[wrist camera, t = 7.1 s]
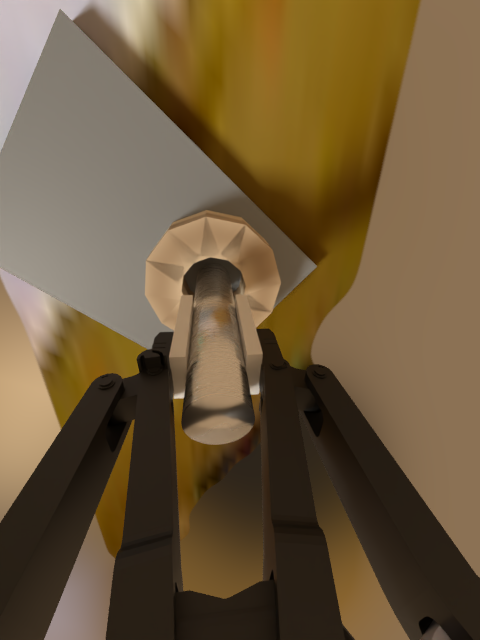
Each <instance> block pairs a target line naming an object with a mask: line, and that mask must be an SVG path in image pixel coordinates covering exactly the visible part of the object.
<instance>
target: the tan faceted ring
mask: <svg viewBox="0 0 480 640" xmlns="http://www.w3.org/2000/svg"><path fill="white" fill-rule="evenodd" d="M210 257H212V258H218V259H223V260H228V261H229V262H231V263H232V264H233V265H234V266H235V267H237V268H238V269H239V270H240V271H241V273H242V276H241V280H240V284H239V287H238V288H237V289H236V290H235V291H234V292H233V298H234V303H235V298H236V295H247V298H248V302H249V306H250V309H251V313H252V316H253V320H254V324H255V327H257V326H258V325H259V324H260V323H261V322H262V321H263V320H264V319H266V318H267V317H268V316H269V315H270V314H271V313H272V310H273V307H274V304H275V301H276V297H277V294H278V291H279V288H280V285H281V281H280V277H279V273H278V269H277V265H276V261H275V257H274V253H273V250H272V248H271V247H270V245H269V244H268V243H267V241H266V240H265V239H264V238H263V237H262V236H261V235H260V234H259V233H257V232H256V231H255V230H254V229H253V228H252V227H251V226H250V225H249V224H248V223H247V222H246V221H245V220H244V219H243V218H242V217H238V216H233V215H228V214H223V213H219V212H214V211H209V210H205V211H202V212H199V213H197V214H194V215H191V216H188V217H186V218H183V219H180V220H178V221H175V222H173V223H172V224H171V226H170V227H169V228H168V230H167V231H166V232H165V234H164V235H163V236H162V238H161V239H160V240H159V242H158V243H157V245H156V246H155V247H154V249H153V250H152V251H151V253H150V255H149V256H148V258H147V259H146V275H145V296H146V298H147V299H148V301H149V303H150V304H151V306H152V308H153V309H154V311H155V313H156V315H157V316H158V318H159V320H160V321H161V323H162V324H164V325H165V326H167V327H169V328H170V329H172V330H174V329H175V324H176V319H177V315H178V310H179V305H180V300H181V295H193V307H194V298H195V293H193V292H192V291H191V290H190V288H189V286H188V284H187V282H186V280H185V273H186V272H187V271H188V270H189V268H190V267H191V266H192V265H193V264H194V263H196V262H198V261H201V260H204V259H207V258H210Z"/></svg>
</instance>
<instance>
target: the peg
mask: <svg viewBox="0 0 480 640" xmlns="http://www.w3.org/2000/svg"><path fill="white" fill-rule="evenodd" d="M254 421H255V416H254V410H253V405H252V399H251V393H250V388H249V382H248V376H247V371H246V366H245V360H244V355H243V349H242V343H241V338H240V332H239V326H238V321H237V315H236V309H235V303H234V298H233V292H232V286H231V281H230V276H229V273H228V271H227V270H226V269H225V268H224V267H223V266H221V265H218V264H208V265H206V266H204V267H202V268H201V269H200V270H199V272H198V274H197V279H196V288H195V298H194V309H193V319H192V328H191V338H190V348H189V357H188V367H187V375H186V384H185V393H184V403H183V412H182V428H183V430H184V432H185V433H186V434H187V435H188V436H189V437H190V438H192V439H193V440H195V441H198V442H201V443H205V444H225V443H230V442H233V441H236V440H238V439H240V438H242V437H243V436H245V435H246V434H247V433H248V432H249V431H250V430H251V428H252V427H253V425H254Z"/></svg>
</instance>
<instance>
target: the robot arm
mask: <svg viewBox="0 0 480 640" xmlns="http://www.w3.org/2000/svg"><path fill="white" fill-rule="evenodd" d="M193 309H194V307H193V295H181V300H180V305H179V310H178V315H177V319H176V324H175V329H174V332H160V333H159V334H158V335H157V336H156V337H155V338H154V342H153V345H152V349H149V350H146V351H144V352H142V353H141V354H139V355H138V357H137V363H138V367H139V372H140V373H139V374H137V375H135V376H132V377H128V378H124V379H122V378H121V376H119V375H118V374H113V373H111V374H105V375H102V376H100V377H98V378H97V379H95V380H94V381H93V382H92V383H91V385H90V387H89V388H88V390H87V391H86V393H85V394H84V396H83V397H82V399H81V400H80V402H79V403H78V405H77V406H76V408H75V409H74V411H73V413H72V414H71V416H70V417H69V419H68V420H67V422H66V423H65V425H64V426H63V428H62V429H61V431H60V432H59V434H58V435H57V437H56V439H55V440H54V442H53V443H52V445H51V446H50V448H49V449H48V451H47V452H46V454H45V455H44V457H43V458H42V460H41V462H40V463H39V464H38V466H37V468H36V469H35V471H34V472H33V474H32V475H31V477H30V478H29V480H28V481H27V483H26V484H25V486H24V487H23V489H22V491H21V492H20V494H19V495H18V497H17V498H16V500H15V501H14V503H13V504H12V506H11V507H10V509H9V511H8V512H7V513H6V515H5V516H4V518H3V520H2V521H1V523H0V640H44V638H45V635H46V633H47V630H48V628H49V625H50V623H51V620H52V618H53V616H54V613H55V611H56V608H57V606H58V603H59V601H60V598H61V596H62V593H63V591H64V588H65V586H66V583H67V581H68V578H69V576H70V573H71V571H72V569H73V566H74V564H75V561H76V558H77V556H78V554H79V551H80V549H81V546H82V544H83V541H84V539H85V536H86V534H87V531H88V529H89V526H90V524H91V521H92V519H93V516H94V514H95V512H96V509H97V507H98V504H99V502H100V499H101V497H102V494H103V492H104V489H105V487H106V484H107V482H108V479H109V477H110V474H111V472H112V469H113V467H114V465H115V462H116V460H117V457H118V455H119V452H120V450H121V447H122V445H123V442H124V440H125V437H126V435H127V432H128V430H129V427H130V425H131V422H132V420H134V419H135V423H134V433H133V442H132V452H131V462H130V472H129V481H128V491H127V501H126V511H125V520H124V530H123V539H122V545H121V548H120V550H119V551H118V553H117V556H116V560H115V565H114V572H113V581H112V589H111V598H110V607H109V616H108V623H107V632H106V640H355V639H354V638H353V637H352V635H351V634H350V633H349V632H348V631H347V629H346V628H345V627H344V626H343V624H342V621H341V616H340V611H339V606H338V600H337V595H336V590H335V584H334V579H333V574H332V568H331V563H330V558H329V552H328V548H327V543H326V538H325V535H324V533H323V530H322V529H321V528H320V527H319V525H318V522H317V518H316V512H315V506H314V500H313V495H312V489H311V483H310V478H309V472H308V466H307V460H306V454H305V449H304V443H303V437H302V431H301V426H300V421H299V414H298V410H299V413H300V415H301V417H302V419H303V421H304V423H305V425H306V428H307V430H308V432H309V434H310V436H311V438H312V440H313V443H314V444H315V447H316V449H317V451H318V453H319V455H320V457H321V460H322V462H323V464H324V466H325V468H326V470H327V472H328V475H329V477H330V479H331V481H332V483H333V485H334V487H335V489H336V491H337V494H338V496H339V498H340V500H341V502H342V504H343V506H344V509H345V511H346V513H347V515H348V517H349V519H350V521H351V523H352V526H353V528H354V530H355V532H356V534H357V536H358V539H359V541H360V543H361V545H362V547H363V549H364V551H365V553H366V556H367V558H368V560H369V562H370V564H371V566H372V568H373V571H374V572H375V575H376V577H377V579H378V581H379V583H380V585H381V588H382V590H383V592H384V594H385V595H386V597H387V600H388V602H389V604H390V605H391V607H392V609H393V611H394V613H395V615H396V617H397V618H398V620H399V622H400V623H401V625H402V627H403V629H404V630H405V632H406V633H407V635H408V637H409V639H410V640H480V578H479V577H478V576H477V575H476V574H475V572H474V571H473V570H472V568H471V567H470V565H469V564H468V562H467V561H466V560H465V558H464V557H463V555H462V554H461V553H460V551H459V550H458V548H457V547H456V545H455V544H454V543H453V541H452V540H451V538H450V537H449V536H448V534H447V533H446V531H445V530H444V529H443V527H442V526H441V524H440V523H439V522H438V520H437V519H436V517H435V516H434V515H433V513H432V512H431V510H430V509H429V508H428V506H427V505H426V503H425V502H424V500H423V499H422V498H421V497H420V495H419V493H418V492H417V491H416V489H415V488H414V486H413V485H412V484H411V482H410V481H409V479H408V478H407V477H406V475H405V474H404V472H403V471H402V470H401V468H400V467H399V465H398V464H397V463H396V461H395V460H394V458H393V457H392V455H391V454H390V453H389V451H388V450H387V448H386V447H385V446H384V444H383V443H382V441H381V440H380V439H379V437H378V436H377V434H376V433H375V432H374V430H373V429H372V427H371V426H370V425H369V423H368V422H367V420H366V419H365V417H364V416H363V415H362V413H361V412H360V410H359V409H358V408H357V406H356V405H355V403H354V402H353V401H352V400H351V398H350V396H349V395H348V394H347V392H346V391H345V389H344V388H343V387H342V385H341V384H340V382H339V381H338V380H337V378H336V377H335V375H334V374H333V373H332V371H331V370H330V369H328V368H327V367H325V366H322V365H315V364H314V365H310V366H309V367H308V368H307V370H301V369H296V368H293V367H291V366H290V365H289V363H288V362H287V361H286V360H284V359H283V357H282V354H281V351H280V349H279V346H278V344H277V341H276V338H275V335H274V333H273V332H272V331H271V330H270V329H256V327H255V324H254V320H253V316H252V313H251V309H250V306H249V302H248V298H247V295H236V298H235V309H236V315H237V321H238V326H239V332H240V338H241V343H242V349H243V355H244V360H245V366H246V371H247V376H248V382H249V388H250V393H251V394H259V388H260V392H261V397H260V406H259V411H260V419H261V459H262V505H263V549H264V559H263V581H261V582H258V583H256V584H255V585H253V586H251V587H249V588H247V589H245V590H243V591H241V592H239V593H237V594H235V595H233V596H232V597H230V598H227V599H222V598H218V597H214V596H210V595H206V594H202V593H197V592H193V591H183V581H182V571H181V555H180V533H179V512H178V491H177V470H176V449H175V428H174V407H173V393H174V398H184V393H185V384H186V375H187V367H188V357H189V348H190V338H191V328H192V319H193Z"/></svg>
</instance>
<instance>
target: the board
mask: <svg viewBox="0 0 480 640" xmlns="http://www.w3.org/2000/svg"><path fill="white" fill-rule="evenodd" d="M205 210H209V211H214V212H219V213H223V214H228V215H233V216H238V217H242V218H243V219H244V220H245V221H246V222H247V223H248V224H249V225H250V226H251V227H252V228H253V229H254V230H255V231H256V232H257V233H259V234H260V235H261V236H262V237H263V238H264V239H265V240H266V241H267V243H268V244H269V245H270V247H271V248H272V250H273V253H274V257H275V261H276V265H277V269H278V273H279V277H280V281H281V285H280V288H279V291H278V294H277V297H276V301H275V304H274V307H275V306H276V305H277V304H278V303H280V302H281V301H282V300H283V299H284V298H285V297H286V296H287V295H288V294H289V293H290V292H291V291H292V290H293V289H294V288H295V287H296V286H297V285H298V284H299V283H300V282H301V281H302V280H303V279H304V278H305V277H307V276H308V275H309V274H310V273H311V272H312V271H313V270H314V269H315V268H316V267H317V266H316V265H315V264H314V263H313V262H312V261H311V260H310V259H309V258H308V257H307V256H306V255H305V254H304V253H303V252H302V251H301V250H300V249H299V248H298V247H297V246H296V245H295V244H294V243H293V242H292V241H291V240H290V239H289V238H288V237H287V236H286V235H285V234H284V233H283V232H282V231H281V230H280V229H279V228H278V227H277V226H276V225H275V224H274V223H273V222H272V221H271V220H270V219H269V218H268V217H267V216H266V215H265V214H264V213H263V212H262V211H261V210H260V209H259V208H258V207H257V206H256V205H255V204H254V203H253V202H252V201H251V200H250V199H249V198H248V197H247V196H246V195H245V194H244V193H243V192H242V191H241V190H240V189H239V188H238V187H237V186H236V185H235V184H234V183H233V182H232V181H231V180H230V179H229V178H228V177H227V176H226V175H225V174H224V173H223V172H222V171H221V170H220V169H219V168H218V167H217V166H216V165H215V164H214V163H213V162H212V161H211V160H210V159H209V158H208V157H207V156H206V155H205V154H204V153H203V152H202V151H201V150H200V149H199V148H198V147H197V146H196V145H195V144H194V143H193V142H192V141H191V140H190V139H189V138H188V137H187V136H186V135H185V134H184V133H183V132H182V131H181V130H180V129H179V128H178V127H177V126H176V125H175V124H174V123H173V122H172V121H171V120H170V119H169V118H168V116H167V115H166V114H165V113H164V112H163V111H162V110H161V109H160V108H159V107H158V106H157V105H156V104H155V103H154V102H153V101H152V100H151V99H150V98H149V97H148V96H147V95H146V94H145V93H144V92H143V91H142V90H141V89H140V88H139V87H138V86H137V85H136V84H135V83H134V82H133V81H132V80H131V79H130V78H129V77H128V76H127V75H126V74H125V73H124V72H123V71H122V70H121V69H120V68H119V67H118V66H117V65H116V64H115V63H114V62H113V61H112V60H111V59H110V58H109V57H108V56H107V55H106V54H105V53H104V52H103V51H102V50H101V49H100V48H99V47H98V46H97V45H96V44H95V43H94V42H93V41H92V40H91V39H90V38H89V37H88V36H87V35H86V34H85V33H84V32H83V31H82V30H81V29H80V28H79V27H78V26H77V25H76V24H75V23H74V22H73V21H72V20H71V19H70V18H69V17H68V16H67V15H66V14H65V13H64V12H63V11H62V10H61V9H60V10H59V12H58V15H57V17H56V20H55V22H54V24H53V27H52V29H51V32H50V34H49V37H48V39H47V41H46V44H45V46H44V49H43V51H42V54H41V56H40V58H39V61H38V63H37V66H36V68H35V70H34V73H33V75H32V78H31V80H30V83H29V85H28V87H27V90H26V92H25V95H24V97H23V99H22V102H21V104H20V107H19V109H18V112H17V114H16V116H15V119H14V121H13V124H12V126H11V129H10V131H9V133H8V136H7V138H6V141H5V143H4V145H3V148H2V150H1V153H0V268H1V269H3V270H5V271H7V272H9V273H10V274H12V275H14V276H16V277H18V278H19V279H21V280H23V281H25V282H27V283H29V284H30V285H32V286H34V287H36V288H38V289H39V290H41V291H43V292H45V293H47V294H49V295H50V296H52V297H54V298H56V299H58V300H59V301H61V302H63V303H65V304H67V305H69V306H70V307H72V308H74V309H76V310H78V311H79V312H81V313H83V314H85V315H87V316H89V317H90V318H92V319H94V320H96V321H98V322H99V323H101V324H103V325H105V326H107V327H109V328H110V329H112V330H114V331H116V332H118V333H119V334H121V335H123V336H125V337H127V338H129V339H130V340H132V341H134V342H136V343H138V344H139V345H141V346H143V347H145V348H147V349H152V345H153V342H154V338H155V337H156V336H157V335H158V334H159V333H160V332H174V330H172V329H170V328H169V327H167V326H165V325H164V324H162V323H161V321H160V320H159V318H158V316H157V315H156V313H155V311H154V309H153V308H152V306H151V304H150V303H149V301H148V299H147V298H146V296H145V275H146V259H147V258H148V256H149V255H150V253H151V251H152V250H153V249H154V247H155V246H156V245H157V243H158V242H159V240H160V239H161V238H162V236H163V235H164V234H165V232H166V231H167V230H168V228H169V227H170V226H171V224H172V223H173V222H175V221H178V220H180V219H183V218H186V217H188V216H191V215H194V214H197V213H199V212H202V211H205ZM208 264H218V265H221V266H223V267H224V268H225V269H226V270H227V271H228V273H229V276H230V281H231V286H232V292H234V291H235V290H236V289H237V288H238V287H239V284H240V280H241V276H242V273H241V271H240V270H239V269H238V268H237V267H235V266H234V265H233V264H232V263H231V262H229V261H228V260H223V259H218V258H212V257H210V258H207V259H204V260H201V261H198V262H196V263H194V264H193V265H192V266H191V267H190V268H189V270H188V271H187V272H186V273H185V280H186V282H187V284H188V286H189V288H190V290H191V291H192V292H193V293H195V288H196V279H197V274H198V272H199V270H200V269H201V268H202V267H204V266H206V265H208ZM274 307H273V308H274Z"/></svg>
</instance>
